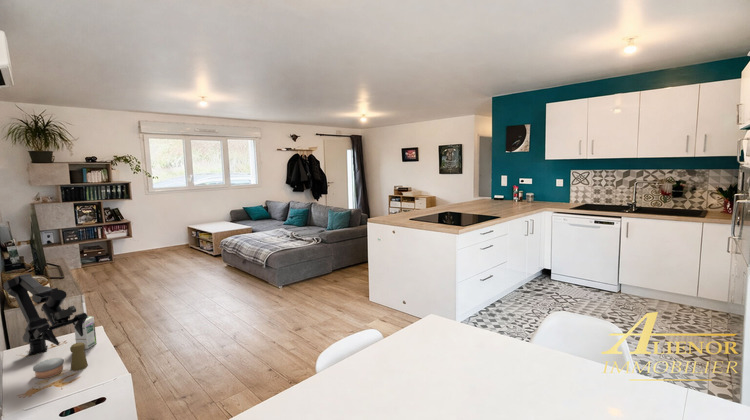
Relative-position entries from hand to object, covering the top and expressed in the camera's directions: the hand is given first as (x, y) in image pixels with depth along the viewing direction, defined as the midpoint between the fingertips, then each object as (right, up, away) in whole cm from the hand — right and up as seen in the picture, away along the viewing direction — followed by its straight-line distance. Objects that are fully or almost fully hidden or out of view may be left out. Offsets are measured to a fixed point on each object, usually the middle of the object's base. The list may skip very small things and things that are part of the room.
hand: (70, 340), depth 163 cm
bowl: (-5, -12, -6) cm, 14 cm away
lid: (-5, -9, -6) cm, 12 cm away
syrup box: (-7, -10, +18) cm, 22 cm away
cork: (+4, -12, -1) cm, 13 cm away
